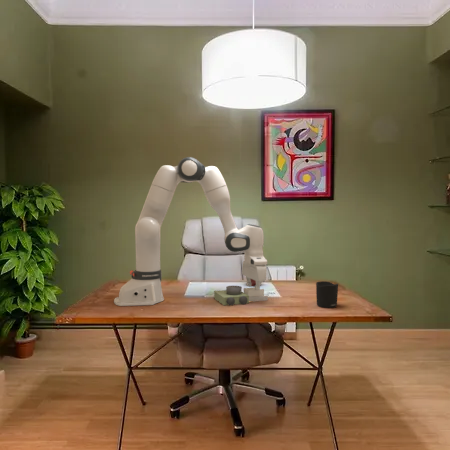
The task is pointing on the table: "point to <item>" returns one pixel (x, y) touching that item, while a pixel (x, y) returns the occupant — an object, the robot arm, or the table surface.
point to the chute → (253, 292)
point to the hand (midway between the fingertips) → (253, 288)
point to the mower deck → (235, 296)
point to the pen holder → (326, 294)
